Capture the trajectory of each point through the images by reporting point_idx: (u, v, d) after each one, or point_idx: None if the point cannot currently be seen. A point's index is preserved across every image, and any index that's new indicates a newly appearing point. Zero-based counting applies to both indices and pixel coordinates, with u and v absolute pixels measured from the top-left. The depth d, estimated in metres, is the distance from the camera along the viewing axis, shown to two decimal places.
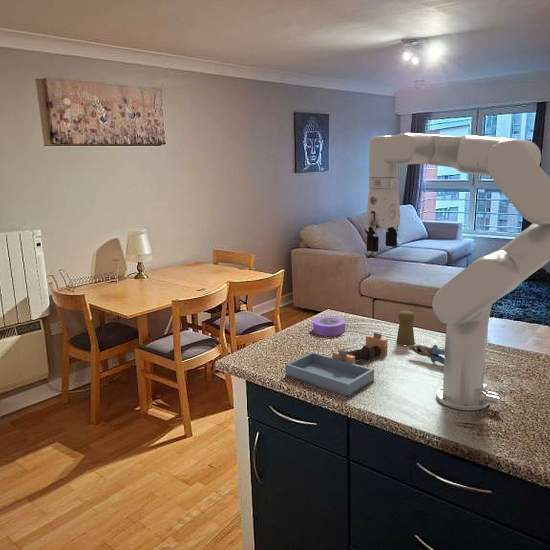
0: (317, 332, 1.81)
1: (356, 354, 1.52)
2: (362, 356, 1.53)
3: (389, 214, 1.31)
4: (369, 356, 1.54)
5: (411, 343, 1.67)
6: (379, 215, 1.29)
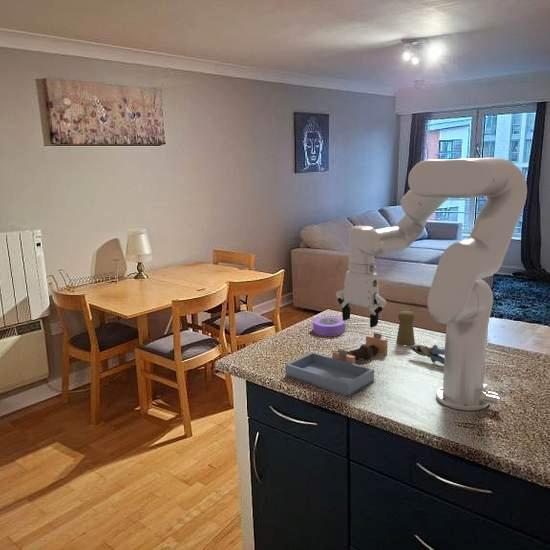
0: (317, 332, 1.81)
1: (355, 354, 1.52)
2: (361, 356, 1.53)
3: None
4: (367, 355, 1.55)
5: (411, 343, 1.67)
6: (378, 294, 1.49)
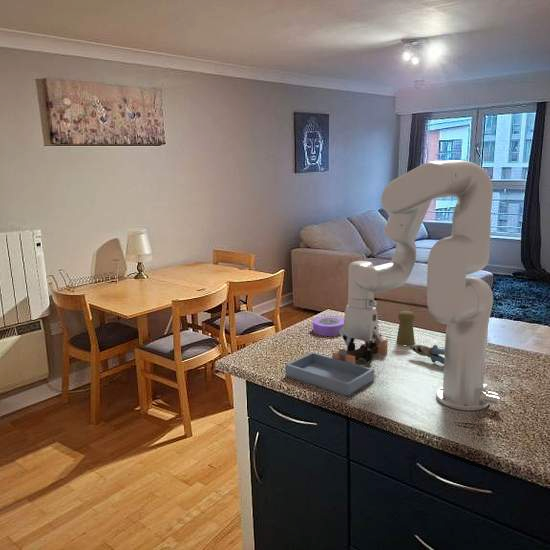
0: (317, 332, 1.81)
1: (356, 354, 1.52)
2: (362, 355, 1.53)
3: None
4: None
5: (411, 343, 1.67)
6: (378, 328, 1.51)
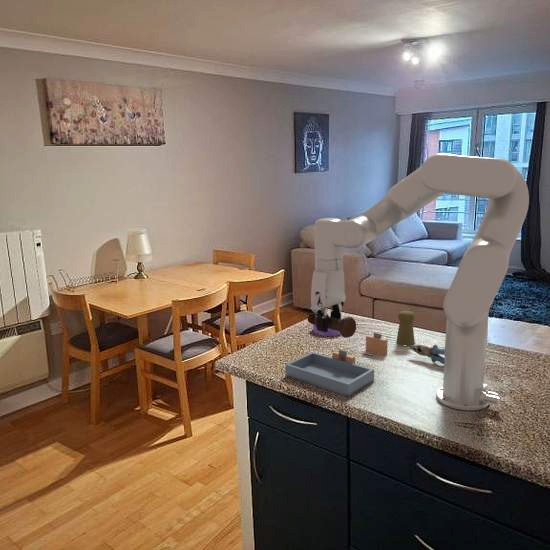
0: (317, 332, 1.81)
1: None
2: None
3: None
4: None
5: (411, 343, 1.67)
6: None
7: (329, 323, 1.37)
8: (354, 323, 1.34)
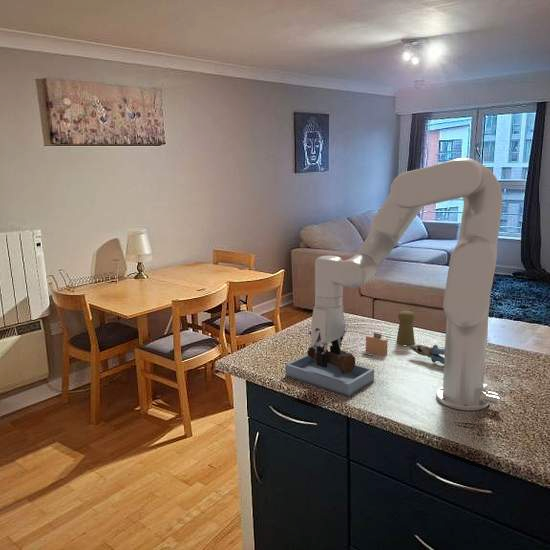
0: None
1: None
2: None
3: None
4: None
5: (411, 343, 1.67)
6: None
7: (328, 358, 1.39)
8: (353, 359, 1.37)
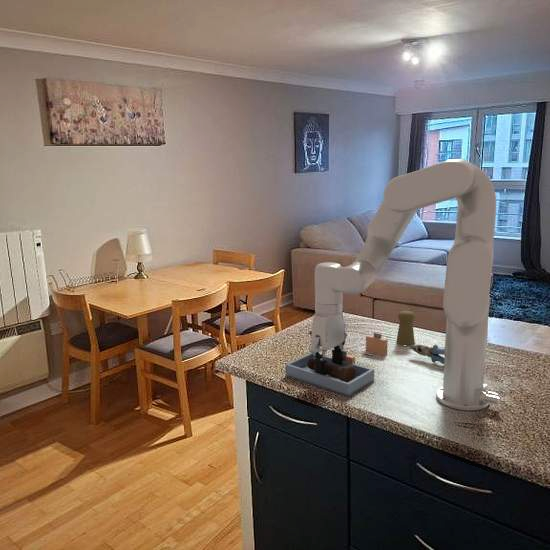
0: None
1: None
2: None
3: None
4: None
5: (411, 343, 1.67)
6: None
7: (329, 370, 1.40)
8: (354, 371, 1.37)
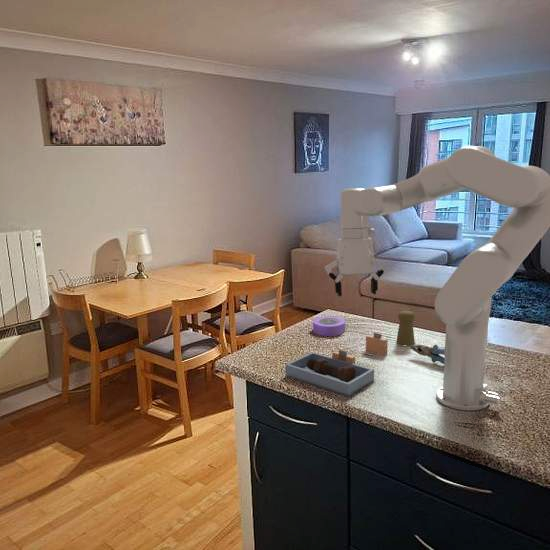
0: (317, 332, 1.81)
1: None
2: None
3: None
4: None
5: (411, 343, 1.67)
6: None
7: (329, 371, 1.40)
8: (354, 371, 1.37)
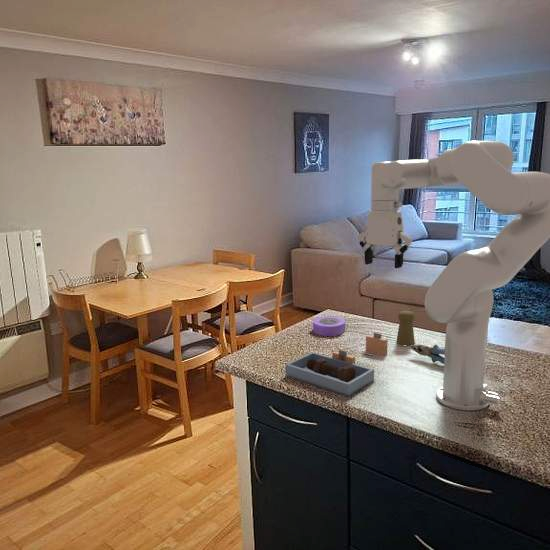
0: (317, 332, 1.81)
1: None
2: None
3: None
4: None
5: (411, 343, 1.67)
6: (403, 233, 1.42)
7: (329, 371, 1.40)
8: (354, 371, 1.37)
